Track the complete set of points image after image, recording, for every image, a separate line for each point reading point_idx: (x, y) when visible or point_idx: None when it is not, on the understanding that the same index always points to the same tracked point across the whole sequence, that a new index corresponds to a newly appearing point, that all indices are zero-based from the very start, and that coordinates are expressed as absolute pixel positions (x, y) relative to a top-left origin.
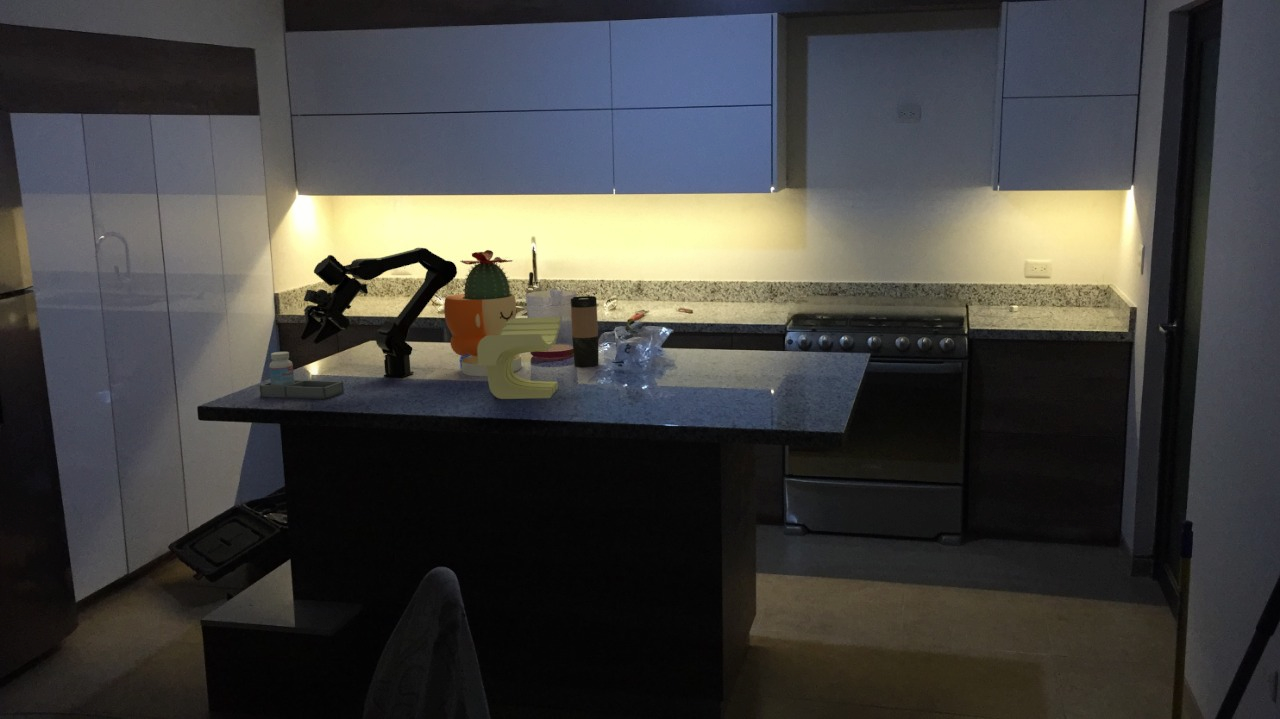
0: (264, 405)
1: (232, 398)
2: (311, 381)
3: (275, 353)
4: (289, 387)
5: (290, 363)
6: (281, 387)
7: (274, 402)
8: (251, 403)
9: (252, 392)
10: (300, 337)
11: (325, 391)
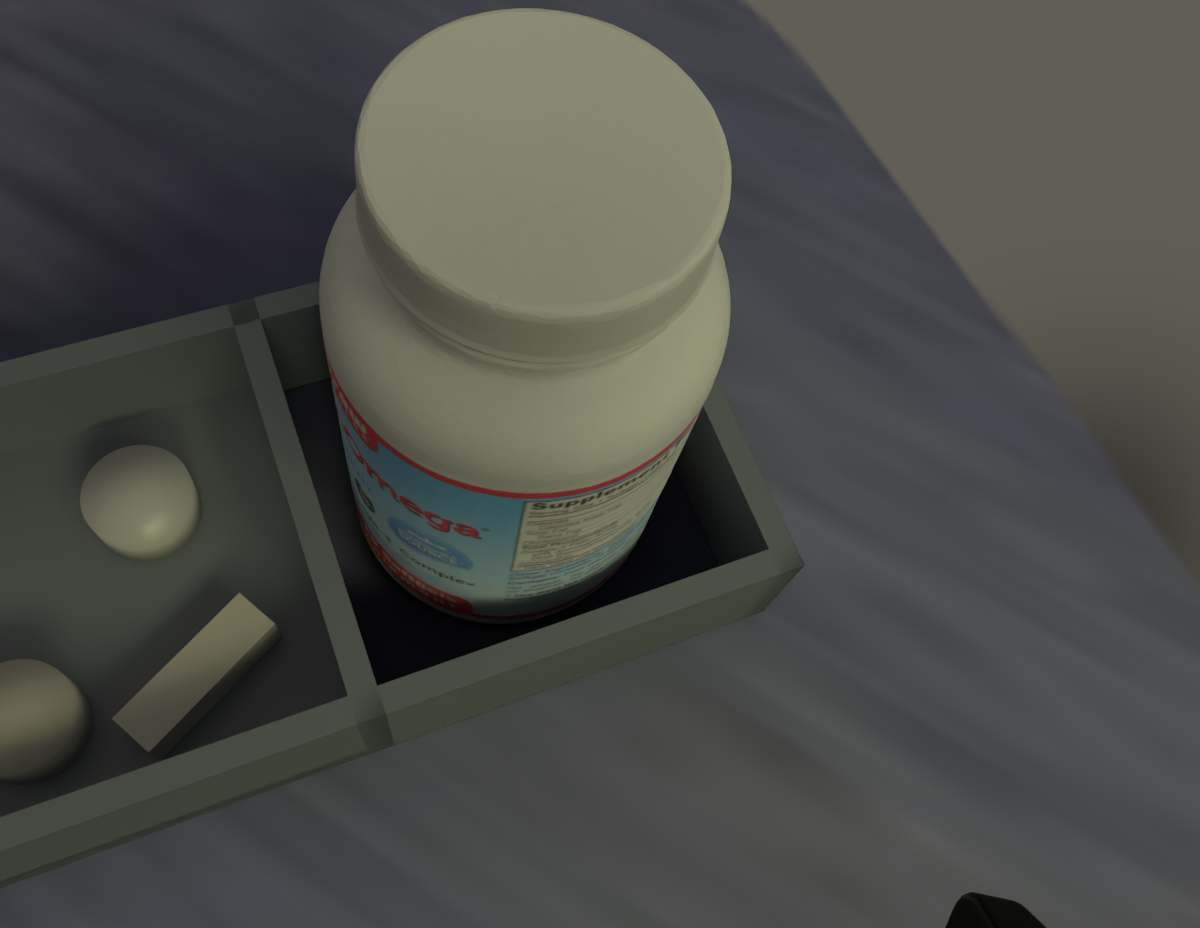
0: (137, 45)
1: (792, 105)
2: (207, 747)
3: (595, 92)
4: (170, 326)
5: (338, 346)
6: (301, 292)
7: (162, 168)
8: (367, 48)
9: (928, 368)
10: (1002, 905)
11: None
